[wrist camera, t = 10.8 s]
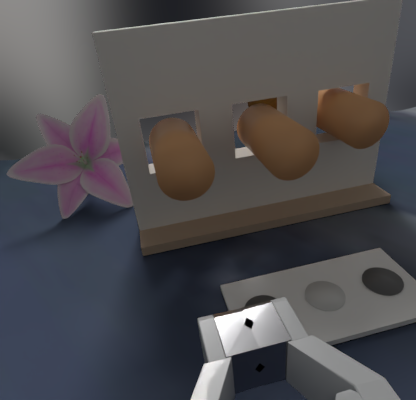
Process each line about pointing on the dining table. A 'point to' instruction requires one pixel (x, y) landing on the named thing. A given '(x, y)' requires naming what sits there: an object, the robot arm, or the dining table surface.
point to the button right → (351, 117)
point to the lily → (77, 159)
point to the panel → (245, 92)
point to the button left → (180, 160)
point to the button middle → (278, 141)
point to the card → (336, 295)
